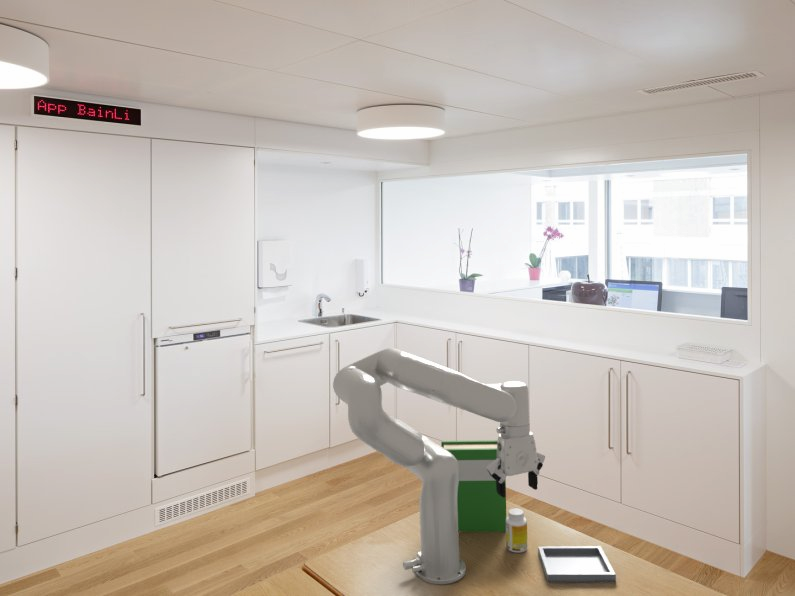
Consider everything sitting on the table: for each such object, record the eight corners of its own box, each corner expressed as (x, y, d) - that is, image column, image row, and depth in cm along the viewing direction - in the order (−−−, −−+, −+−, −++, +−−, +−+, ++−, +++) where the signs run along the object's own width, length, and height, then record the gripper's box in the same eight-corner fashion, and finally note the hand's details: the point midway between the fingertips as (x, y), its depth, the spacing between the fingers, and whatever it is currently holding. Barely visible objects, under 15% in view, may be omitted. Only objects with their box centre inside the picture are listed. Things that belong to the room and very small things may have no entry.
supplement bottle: (531, 548, 157) (531, 511, 156) (518, 556, 154) (517, 518, 153) (515, 540, 162) (514, 504, 161) (501, 548, 158) (501, 511, 157)
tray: (547, 582, 142) (547, 574, 142) (538, 553, 155) (538, 546, 154) (615, 582, 141) (615, 574, 141) (600, 553, 154) (600, 546, 153)
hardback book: (444, 531, 168) (441, 450, 166) (443, 519, 176) (441, 441, 173) (506, 531, 167) (504, 449, 164) (503, 519, 174) (502, 440, 172)
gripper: (493, 439, 148) (496, 504, 150) (551, 427, 154) (553, 490, 156) (478, 430, 155) (481, 493, 157) (534, 419, 161) (536, 479, 163)
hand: (517, 491), depth 156 cm, fingers open, 9 cm apart
